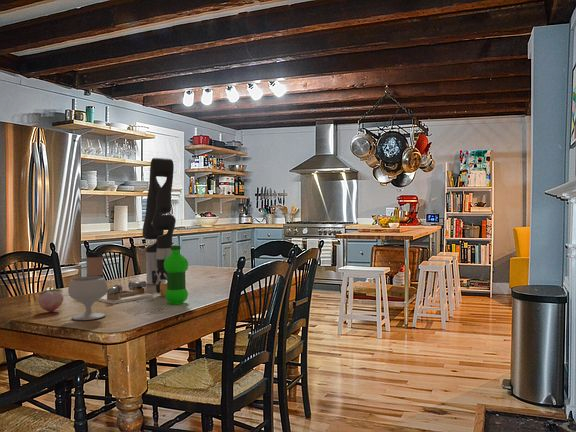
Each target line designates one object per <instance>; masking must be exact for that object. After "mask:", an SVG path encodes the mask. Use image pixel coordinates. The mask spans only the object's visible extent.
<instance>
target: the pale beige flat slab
mask: <svg viewBox="0 0 576 432" xmlns="http://www.w3.org/2000/svg"><path fill="white" fill-rule="evenodd" d="M153 297H154V295H153V294H151V293H147V292H144V293H142V294H136V293H135V292H133V290H122V292H121V299H119V300H107V294H105V295H104V296H103V297H102V298H100V299H98V300H97V302H103V303H108V304H119V303H127V302H131V301H138V299H139V300H143V299H144V300H145V299H150V298H153Z"/></svg>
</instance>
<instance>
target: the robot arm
mask: <svg viewBox="0 0 576 432" xmlns="http://www.w3.org/2000/svg"><path fill="white" fill-rule="evenodd" d="M149 167H150V168H149V183H148V191H147V196H146V206H145V207H146V209H145V216H144V220H143V225H142V237H143V239H144V240H156V241H155V242H154V243H153V244H151V245H148V246H146V247H145V259H146V260H145V266H146V283H147V285H155V286H156V287H155V291H156V293H157V294H160V283H167V272H166V271H165V269H164V261H165V259H166V258H167V257H168V256H170V255H171V254H172V250H171V245H173V236H174V230H175V227H176V218H175V216H174V215H172V214H169V213H170V212H171V211H172V189H173V183H174V182H173V181H174V180H173V179H174V172H175V171H174V169H175V168H174V161H173V159H171V158H165V157H152V159H151V161H150V166H149ZM157 177H161V178H166V180H165V181H164V183H163V185H162V186H161V185H160V183H159V181H158V179H157ZM164 231H167V232H166V233H165V232H164Z"/></svg>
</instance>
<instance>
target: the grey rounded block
mask: <svg viewBox="0 0 576 432" xmlns="http://www.w3.org/2000/svg"><path fill="white" fill-rule="evenodd" d="M122 291H123V286H122V285H121V284H114V286H113V287H111V288H108V290H107V293H106V295H107V300H119V299H121V292H122Z"/></svg>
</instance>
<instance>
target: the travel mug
mask: <svg viewBox="0 0 576 432" xmlns="http://www.w3.org/2000/svg"><path fill="white" fill-rule="evenodd" d="M85 254H86V256H85V257H86V260H85V261H86V277H88V276H101V277H104V262H103V261H104V258H103V251H102V250H101V251H98V250H95V251H94V250H93V251H86V252H85Z"/></svg>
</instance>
